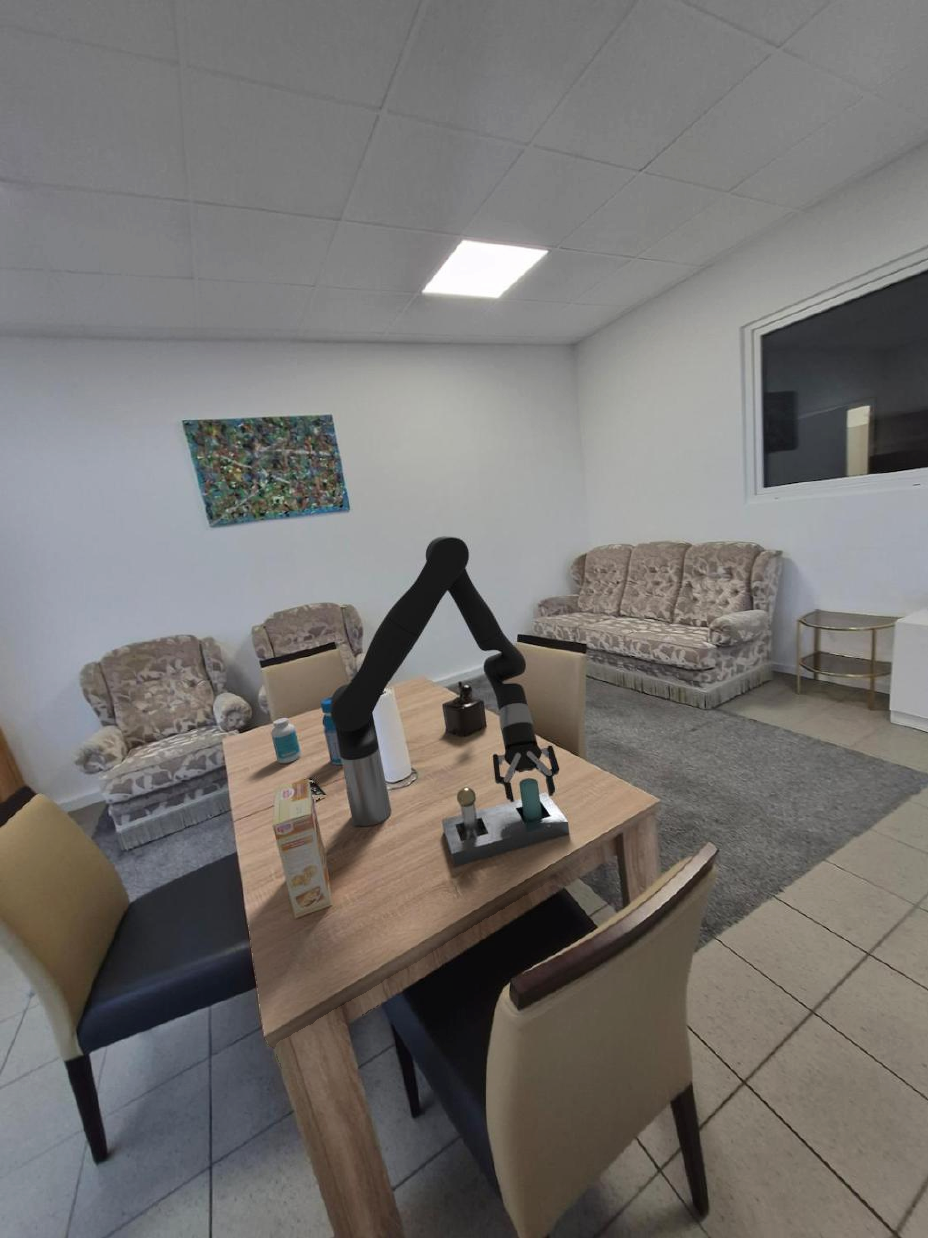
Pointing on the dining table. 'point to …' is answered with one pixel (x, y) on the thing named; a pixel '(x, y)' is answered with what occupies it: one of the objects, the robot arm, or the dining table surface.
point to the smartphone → (318, 789)
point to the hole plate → (498, 828)
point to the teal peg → (530, 800)
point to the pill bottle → (285, 741)
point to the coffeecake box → (301, 848)
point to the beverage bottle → (330, 733)
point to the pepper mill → (464, 713)
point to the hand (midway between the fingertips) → (531, 798)
